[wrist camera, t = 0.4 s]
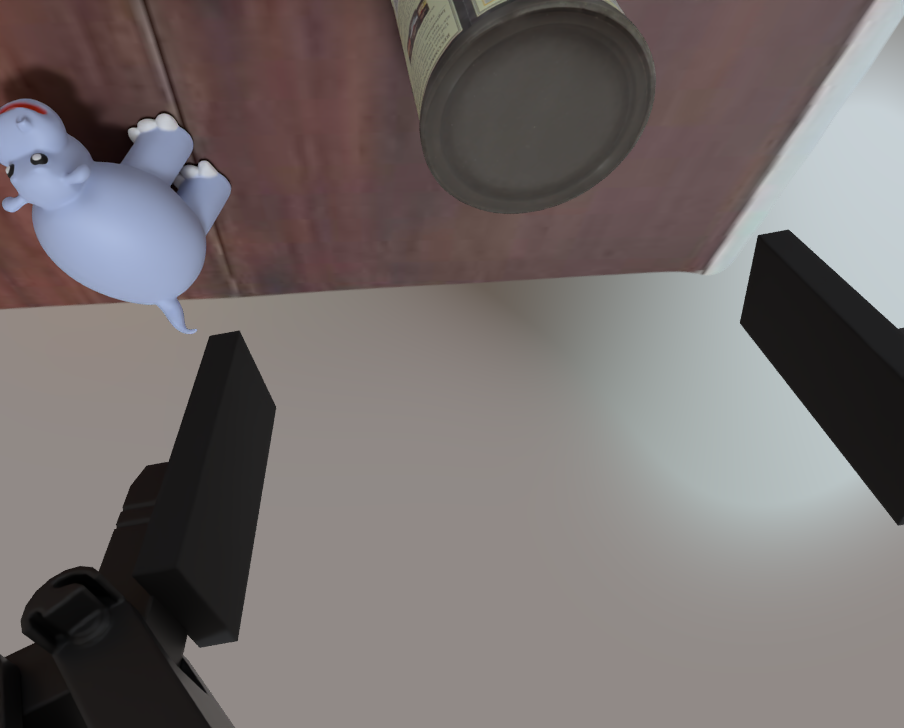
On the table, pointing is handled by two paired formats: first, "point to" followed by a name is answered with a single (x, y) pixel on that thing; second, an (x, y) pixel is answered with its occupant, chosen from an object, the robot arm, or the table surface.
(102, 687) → the robot arm
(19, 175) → the hippopotamus toy
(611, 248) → the table surface
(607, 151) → the coffee can
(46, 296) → the table surface
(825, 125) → the table surface
